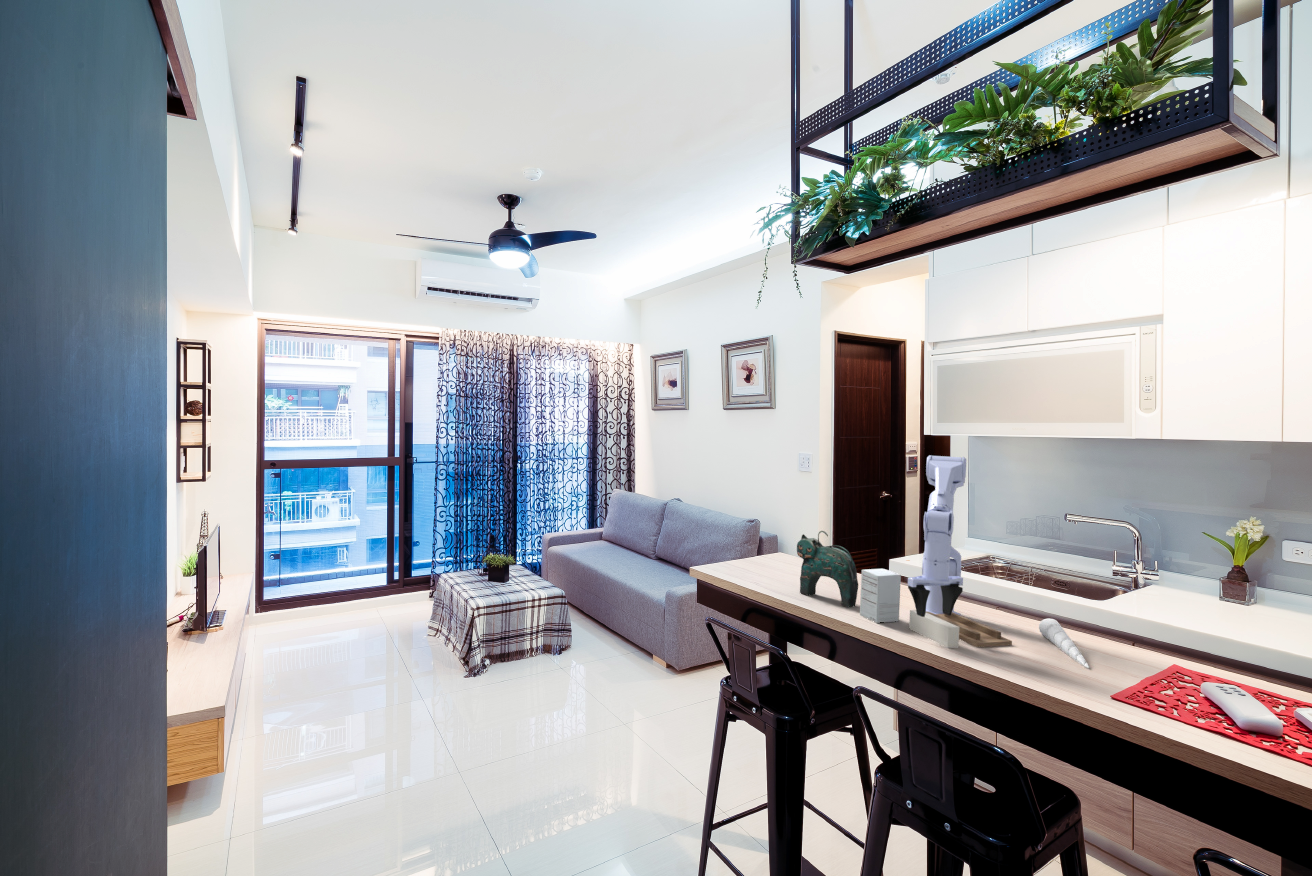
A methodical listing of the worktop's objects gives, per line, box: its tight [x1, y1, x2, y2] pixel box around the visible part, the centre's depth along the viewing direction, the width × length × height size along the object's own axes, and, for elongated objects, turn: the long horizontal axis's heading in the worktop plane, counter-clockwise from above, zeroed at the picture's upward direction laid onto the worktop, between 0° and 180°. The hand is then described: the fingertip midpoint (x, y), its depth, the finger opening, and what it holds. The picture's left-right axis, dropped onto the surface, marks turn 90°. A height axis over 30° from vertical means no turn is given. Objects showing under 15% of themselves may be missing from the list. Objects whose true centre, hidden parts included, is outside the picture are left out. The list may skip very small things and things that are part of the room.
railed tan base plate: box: [926, 612, 1013, 648], centre depth 163 cm, size 22×10×2 cm, turn 16°
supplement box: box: [859, 568, 902, 624], centre depth 171 cm, size 7×7×13 cm
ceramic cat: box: [796, 530, 859, 608], centre depth 188 cm, size 20×6×20 cm, turn 37°
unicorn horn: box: [1038, 618, 1090, 669], centre depth 151 cm, size 5×24×5 cm, turn 164°
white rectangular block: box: [908, 609, 960, 649], centre depth 157 cm, size 14×3×5 cm, turn 15°
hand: (933, 614), depth 156 cm, fingers open, 7 cm apart
